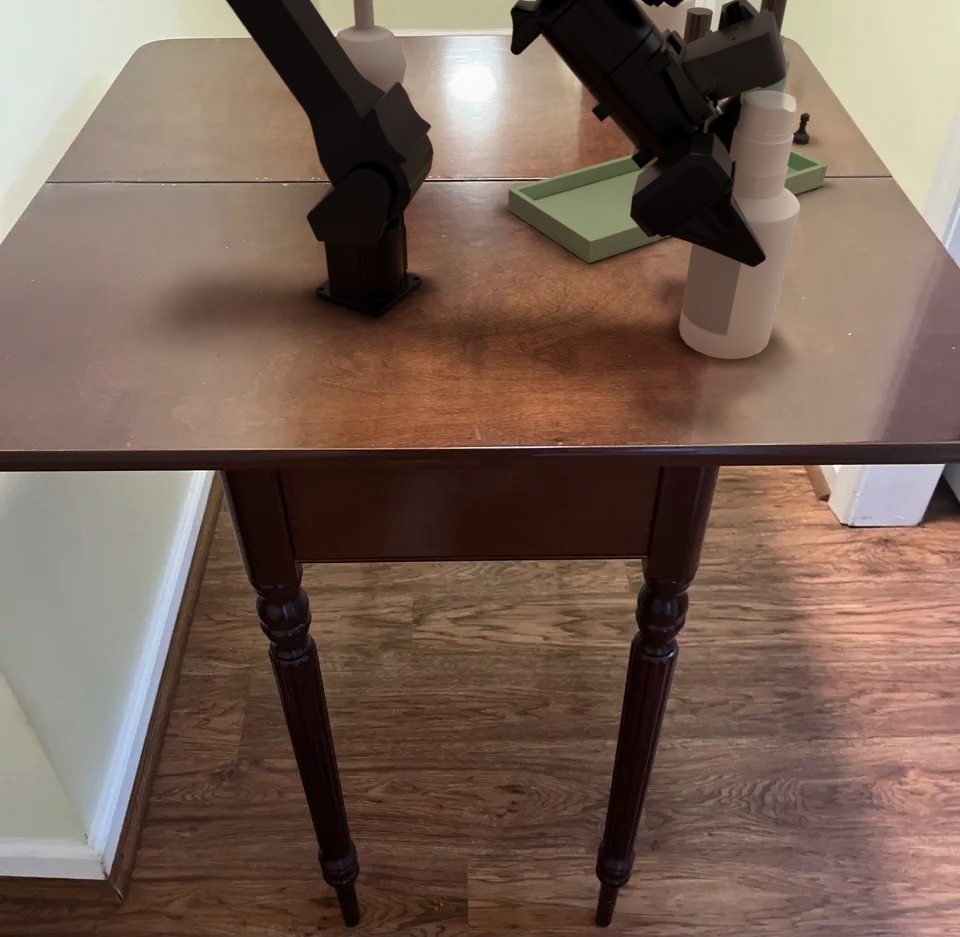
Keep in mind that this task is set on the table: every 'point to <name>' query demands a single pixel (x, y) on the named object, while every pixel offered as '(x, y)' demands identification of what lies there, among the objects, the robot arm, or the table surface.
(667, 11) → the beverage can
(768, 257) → the spray bottle
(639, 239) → the tray
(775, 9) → the celadon bottle
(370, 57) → the potion bottle
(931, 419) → the table surface
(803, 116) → the chess pawn
